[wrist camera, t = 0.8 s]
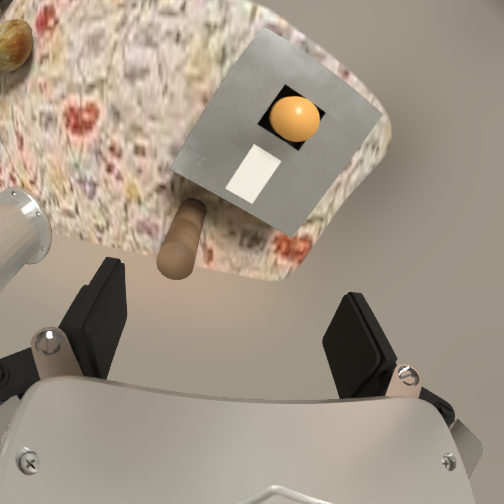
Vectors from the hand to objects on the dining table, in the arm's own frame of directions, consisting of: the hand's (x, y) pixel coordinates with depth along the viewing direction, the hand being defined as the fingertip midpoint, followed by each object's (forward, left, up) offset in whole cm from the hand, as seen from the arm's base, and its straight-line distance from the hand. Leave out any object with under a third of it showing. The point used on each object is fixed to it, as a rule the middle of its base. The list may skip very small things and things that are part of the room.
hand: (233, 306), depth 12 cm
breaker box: (+6, +3, -23) cm, 24 cm away
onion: (-19, +29, -24) cm, 42 cm away
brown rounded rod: (-6, -3, -23) cm, 24 cm away
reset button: (+7, +4, -19) cm, 21 cm away
